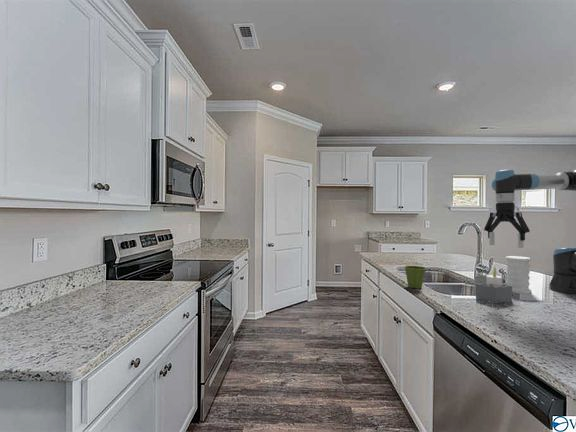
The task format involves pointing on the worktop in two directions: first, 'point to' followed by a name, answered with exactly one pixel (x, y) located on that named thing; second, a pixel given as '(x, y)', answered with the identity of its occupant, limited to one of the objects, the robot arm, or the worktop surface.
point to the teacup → (481, 279)
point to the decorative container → (518, 274)
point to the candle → (494, 280)
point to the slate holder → (494, 293)
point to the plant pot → (415, 276)
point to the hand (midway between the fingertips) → (505, 246)
